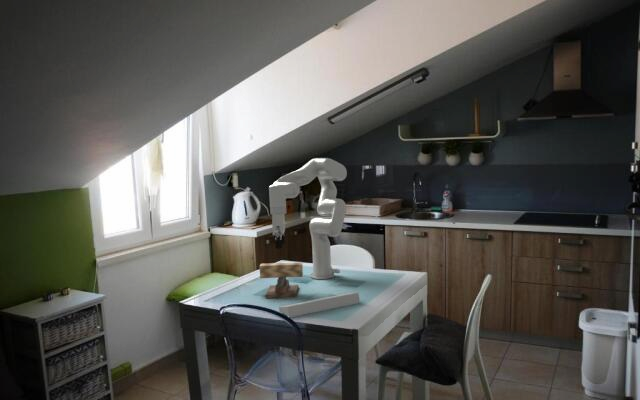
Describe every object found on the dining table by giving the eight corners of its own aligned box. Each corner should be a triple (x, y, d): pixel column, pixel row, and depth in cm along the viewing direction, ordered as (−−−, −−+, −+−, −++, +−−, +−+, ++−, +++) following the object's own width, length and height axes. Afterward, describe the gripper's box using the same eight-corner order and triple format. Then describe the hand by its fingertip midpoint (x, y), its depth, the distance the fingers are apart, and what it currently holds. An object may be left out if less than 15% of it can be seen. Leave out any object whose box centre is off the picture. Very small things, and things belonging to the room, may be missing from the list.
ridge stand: (298, 287, 257) (297, 271, 256) (295, 297, 241) (294, 280, 240) (270, 288, 257) (269, 272, 256) (265, 298, 241) (264, 281, 240)
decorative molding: (280, 318, 222) (289, 318, 213) (278, 307, 222) (287, 306, 213) (349, 303, 237) (360, 303, 228) (347, 293, 238) (358, 292, 229)
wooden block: (302, 274, 250) (302, 262, 249) (302, 276, 245) (301, 264, 245) (261, 275, 251) (260, 263, 250) (260, 278, 246) (259, 265, 246)
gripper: (272, 208, 253) (275, 242, 255) (267, 213, 236) (270, 250, 238) (288, 207, 253) (290, 242, 255) (284, 212, 236) (286, 249, 238)
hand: (280, 246), depth 247 cm, fingers open, 9 cm apart
